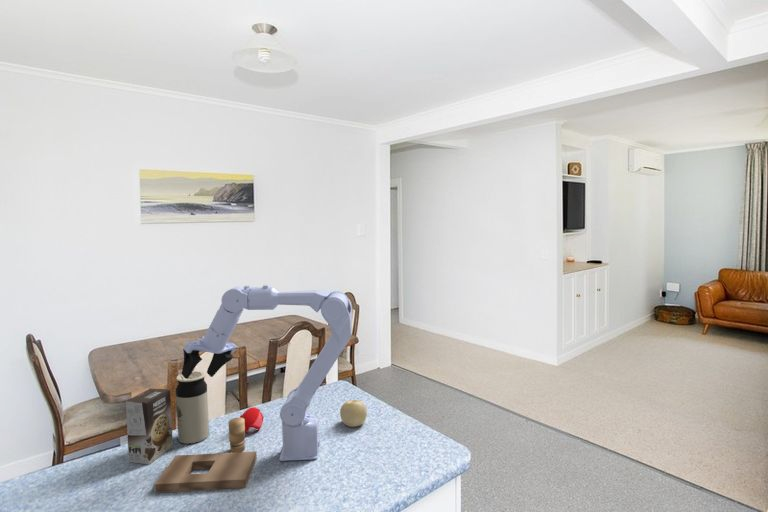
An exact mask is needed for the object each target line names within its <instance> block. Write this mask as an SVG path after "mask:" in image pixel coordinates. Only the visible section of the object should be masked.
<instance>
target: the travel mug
mask: <svg viewBox="0 0 768 512" xmlns="http://www.w3.org/2000/svg"><path fill="white" fill-rule="evenodd" d="M206 374H207V373H205V372H204V371H201V370H193V371H192V373H191V375H190V376H189V377H188V378H184V376H183V375H182V373H179V374H178V375H177V376H176V381H177V383H178V384H177V386H176V388H175V401H176V403H175V404H176V418H177V419H176V420H177V437H178V438H177V439H178V442H180V443H182V444H187V445H188V444H189V443H191V444H196V442H197V443H199V442H202V441H204V440H205V439H207V438H208V437H209V436H210V422H209V404H208V401H209V400H208V384H207V381H205V376H206ZM189 445H190V444H189Z"/></svg>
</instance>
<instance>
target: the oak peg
mask: <svg viewBox="0 0 768 512" xmlns="http://www.w3.org/2000/svg"><path fill="white" fill-rule="evenodd" d="M245 439H246V433H245V421H244V418H240V417H234V418H231V419H229V420H228V441H229V446H230V453H235V452H245V450H246V447H245V446H246V444H245V443H246V441H245Z"/></svg>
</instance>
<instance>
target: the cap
mask: <svg viewBox="0 0 768 512" xmlns="http://www.w3.org/2000/svg"><path fill="white" fill-rule="evenodd" d="M239 418H244V421H245V434H247V433H248V432H249V429H251V428H253V429H254V430H257V431H260V430H261V427H262V425H263V422H264V415H263V413H262V412H261V410H260V408H258V407H249V408H247V409H246V410H245V411H244V412H243V413H242V414H240V416H239Z"/></svg>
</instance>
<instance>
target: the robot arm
mask: <svg viewBox="0 0 768 512" xmlns="http://www.w3.org/2000/svg"><path fill="white" fill-rule="evenodd" d="M284 305H285V306H307V307H310V308H311V309H312V310H313V311H315V312H316V313H319V311H320V313H321V316H322V317H323V319H324V320H325V322H326V323H327V324H328V326H329V330H330V333H331V335H330V337H329V338H328V340H327V341H326V343H325V344H324V346H323V347H322V349H321V350H320V352H319V354H318V355H317V357H316V358H315V360H314V361H313V363H312V364H311V365H310V367H309V369H308V371H307V372H306V374H305V376H304V377H303V379H302V380H301V381H300V383H299V384H298V386H297V387H296V388H294V389H292V390H291V391H289V393H288V395H287V397H286V399H285V402H284V404H283V405H282V406H281V407H280V412H279V417H280V420H281V427H282V429H281V430H282V431H281V432H282V433H281V434H282V449H281V453H280V456H279V461H280V462H285V461H286V462H287V461H288V462H291V461H306V460H308V461H309V460H317V459H318V455H319V448H320V444H321V443H320V442H321V441H320V437H319V436H320V434H319V430H320V429H319V418H317V417H311V414H310V413H309V411H308V408H309V407H310V405H311V401H312V399H313V398H314V395H315V394H316V392H317V391H318V389H319V388H320V386H321V385H322V383H323V382H324V380H325V379H326V377H327V375H328V374H329V372H330V371H331V369H332V368H333V366H334V365H335V363H336V362H337V360H338V358H339V356H341V354H342V352H343V351H344V349H345V347H346V346H347V345H348V343H349V341H350V340H351V337H352V335H353V334H352V333H353V330H352V329H353V324H352V321H353V320H352V319H353V317H352V308H353V307H352V305H351V303H350V299H349V297H348V296H347V295H346V293H344V292H342V291H338V290H337V291H336V290H335V291H332V290H327V289H326V290H324V289H323V290H321V289H317V290H297V291H295V290H294V291H279V290H278V289H276V287H273V286H270V284H263V285H262V287H257V286H256V287H255V286H251V287H250V285H244V286H241V285H237V286H235V287H232V288H230V289H228V290H226V291H225V292H224V293H223V294H222V297H221V304H220V305H219V308H218V309H217V311H216V313H215V315H214V317H213V319H212V320H211V323H210V325H209V326H208V329H207V330H206V332H205V335H203V336H202V337H201V339H198V340H194V341H186V343H185V345H184V346H183V349H182V350H183V365H182V371H181V374H182V375H183V376H184V378H188V377H189V376H190V375H191V373H192V371H194V369H195V368H196V366H197V365H199V363H200V362H201V361H203V358H202V357H201V356H200V353H204V352H205V353H212V354H213V355H212V358H211V361H210V363H209V365H208V366H207V371H206V374H208V376H209V377H211V378H212V377H214V376H215V375H216V374H217V373H218V371H219V370H220V369H222V367H224V365H226V363H228V362H230V361H232V359H233V357H234V356H233V354H234V353H235V352H236V350H237V347H238V346H237V345H236V344H235V343H233V342H229V340H230V337H231V336H232V334H233V332H234V329H235V328H236V326H237V324H238V322H239V320H240V318H241V315H242V313H243V311H244V310H248V311H256V310H257V311H262V310H263V311H265V310H266V311H269V310H270V311H271V310H275V309H276V308H277V307H278V306H284Z"/></svg>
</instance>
